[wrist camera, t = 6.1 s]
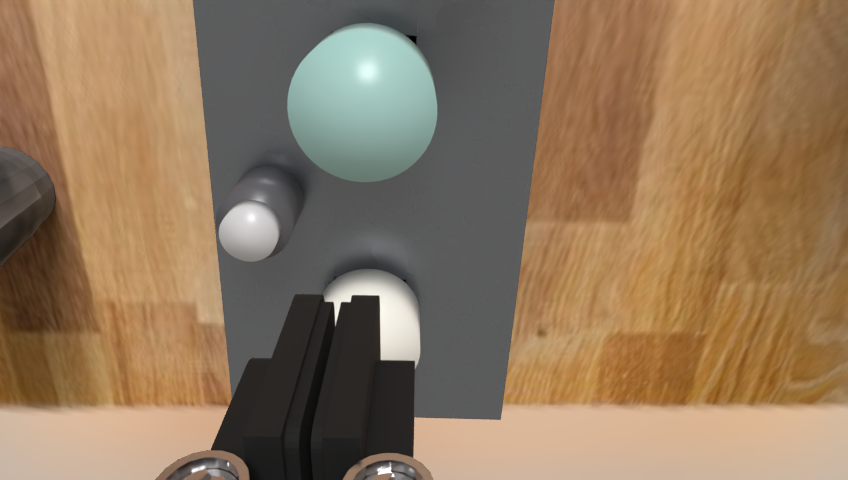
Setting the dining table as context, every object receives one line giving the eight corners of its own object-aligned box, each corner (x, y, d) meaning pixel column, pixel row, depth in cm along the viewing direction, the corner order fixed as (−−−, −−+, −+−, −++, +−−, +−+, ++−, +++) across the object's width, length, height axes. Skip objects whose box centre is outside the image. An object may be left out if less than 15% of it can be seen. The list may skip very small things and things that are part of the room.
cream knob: (420, 228, 33) (423, 303, 26) (416, 306, 35) (417, 396, 28) (330, 225, 33) (307, 300, 26) (331, 303, 35) (310, 393, 28)
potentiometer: (302, 167, 27) (285, 201, 23) (304, 230, 28) (288, 272, 25) (232, 164, 27) (204, 198, 23) (237, 228, 28) (211, 269, 25)
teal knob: (434, 13, 26) (441, 37, 19) (427, 126, 28) (433, 185, 21) (319, 8, 26) (284, 29, 19) (321, 121, 28) (290, 179, 21)
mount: (541, -86, 28) (566, -93, 23) (490, 363, 38) (500, 419, 33) (220, -105, 27) (181, -116, 23) (255, 355, 37) (233, 412, 33)
